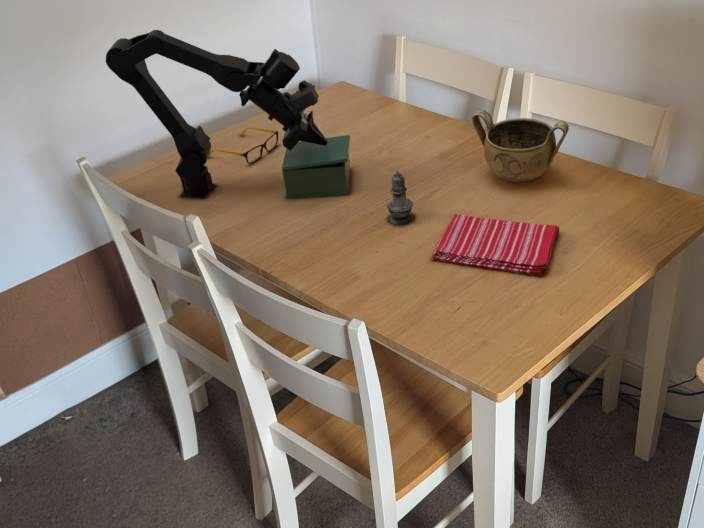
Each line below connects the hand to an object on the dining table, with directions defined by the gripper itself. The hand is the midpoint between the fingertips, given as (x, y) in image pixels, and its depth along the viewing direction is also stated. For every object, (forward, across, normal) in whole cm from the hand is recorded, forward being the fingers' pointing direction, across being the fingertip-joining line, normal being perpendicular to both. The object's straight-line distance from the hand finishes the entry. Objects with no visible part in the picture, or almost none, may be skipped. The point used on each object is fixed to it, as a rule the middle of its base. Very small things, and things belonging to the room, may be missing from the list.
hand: (326, 143), depth 188 cm
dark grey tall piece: (+19, -18, -4) cm, 27 cm away
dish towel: (+34, -32, -19) cm, 50 cm away
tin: (+5, 0, +10) cm, 11 cm away
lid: (0, 0, +4) cm, 4 cm away
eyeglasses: (-10, +20, +25) cm, 34 cm away
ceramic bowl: (+39, -2, -24) cm, 46 cm away
